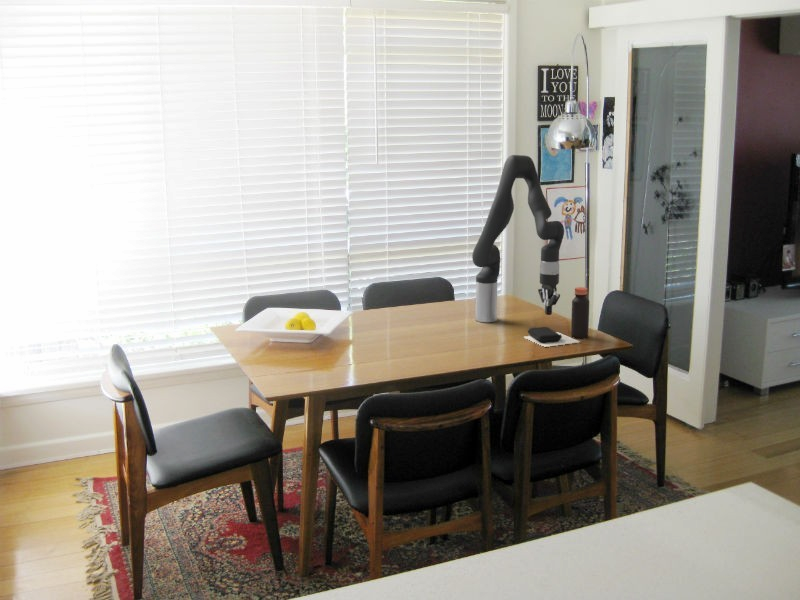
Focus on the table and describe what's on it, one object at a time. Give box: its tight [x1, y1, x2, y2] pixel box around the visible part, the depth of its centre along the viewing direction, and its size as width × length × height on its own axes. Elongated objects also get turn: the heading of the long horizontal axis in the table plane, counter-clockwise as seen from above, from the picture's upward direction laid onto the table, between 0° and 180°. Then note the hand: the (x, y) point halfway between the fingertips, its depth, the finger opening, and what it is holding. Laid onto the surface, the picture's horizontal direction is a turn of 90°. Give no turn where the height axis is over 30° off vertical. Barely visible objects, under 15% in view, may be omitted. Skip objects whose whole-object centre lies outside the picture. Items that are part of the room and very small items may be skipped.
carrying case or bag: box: [527, 326, 562, 343], centre depth 337 cm, size 11×3×15 cm
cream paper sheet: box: [523, 331, 581, 348], centre depth 336 cm, size 16×16×1 cm
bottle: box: [570, 286, 590, 340], centre depth 338 cm, size 7×7×20 cm
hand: (548, 314), depth 336 cm, fingers closed
